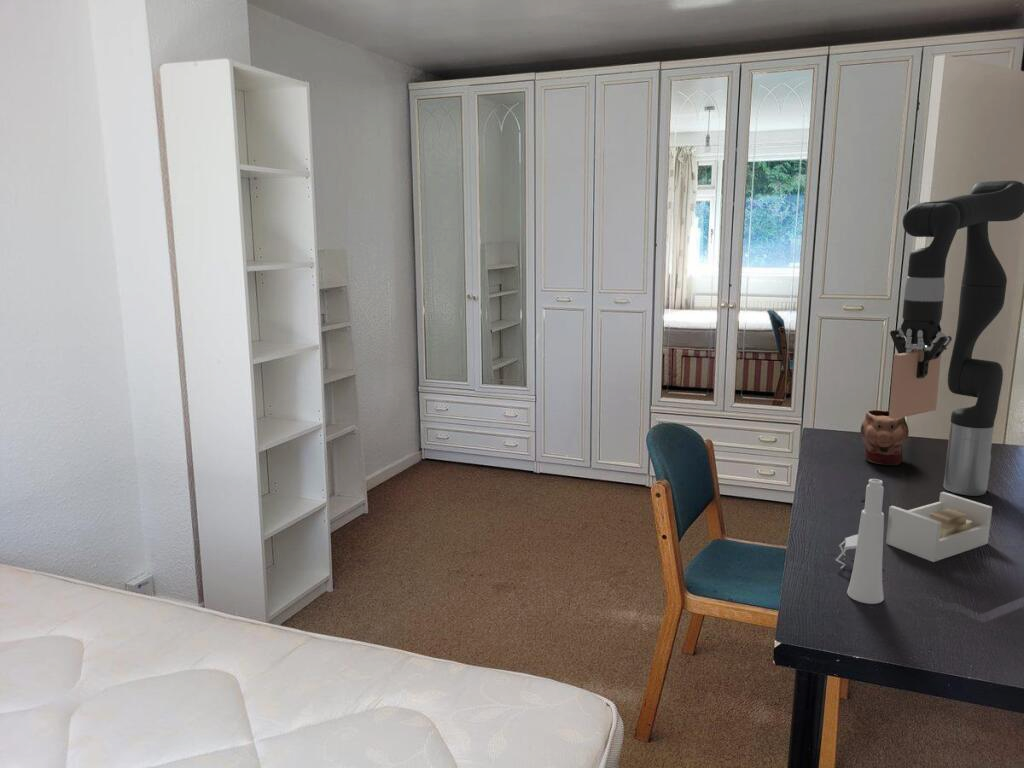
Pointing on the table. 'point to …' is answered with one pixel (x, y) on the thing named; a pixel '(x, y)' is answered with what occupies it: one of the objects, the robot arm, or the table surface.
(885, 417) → the decorative planter
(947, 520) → the offcut small
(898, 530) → the rack
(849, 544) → the origami figure
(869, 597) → the cosmetic bottle
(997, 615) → the table surface
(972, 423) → the robot arm
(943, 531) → the offcut mid
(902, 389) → the board
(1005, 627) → the table surface
